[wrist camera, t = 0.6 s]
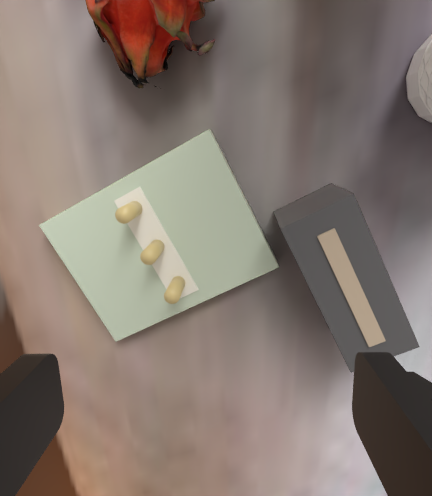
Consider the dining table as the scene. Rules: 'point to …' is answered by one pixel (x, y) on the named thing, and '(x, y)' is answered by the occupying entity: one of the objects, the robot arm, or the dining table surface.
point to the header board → (162, 238)
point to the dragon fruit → (146, 32)
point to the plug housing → (346, 273)
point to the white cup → (421, 81)
